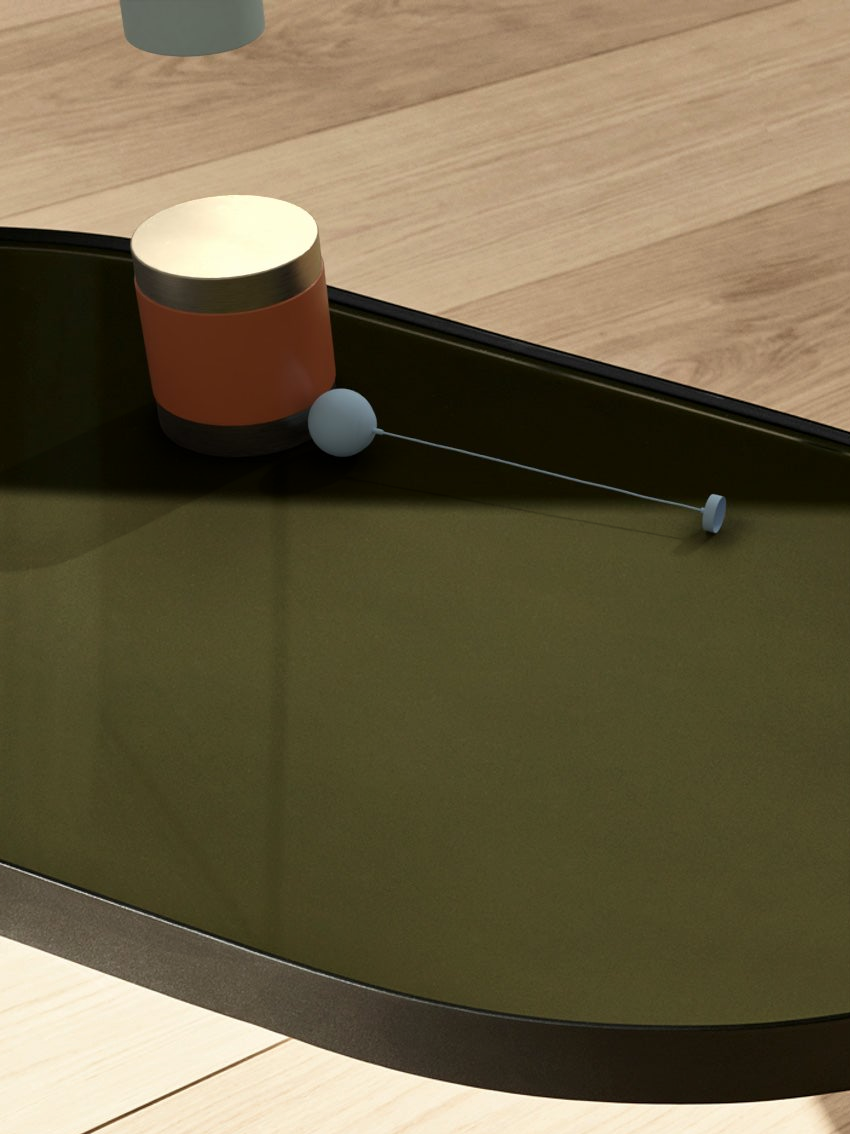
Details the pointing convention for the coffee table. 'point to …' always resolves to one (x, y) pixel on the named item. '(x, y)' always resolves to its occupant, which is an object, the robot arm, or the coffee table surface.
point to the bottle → (191, 25)
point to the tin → (234, 322)
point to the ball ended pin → (351, 426)
